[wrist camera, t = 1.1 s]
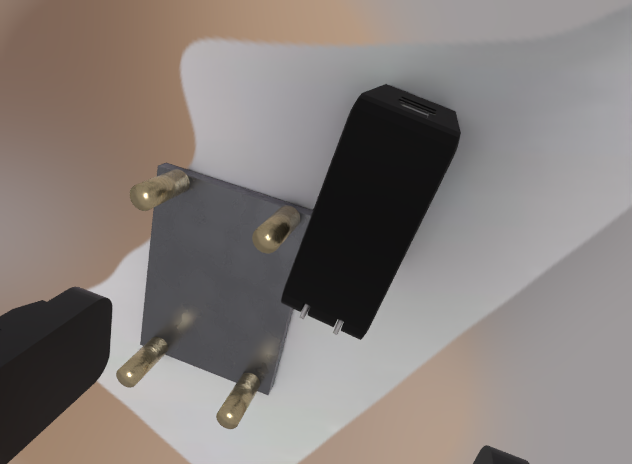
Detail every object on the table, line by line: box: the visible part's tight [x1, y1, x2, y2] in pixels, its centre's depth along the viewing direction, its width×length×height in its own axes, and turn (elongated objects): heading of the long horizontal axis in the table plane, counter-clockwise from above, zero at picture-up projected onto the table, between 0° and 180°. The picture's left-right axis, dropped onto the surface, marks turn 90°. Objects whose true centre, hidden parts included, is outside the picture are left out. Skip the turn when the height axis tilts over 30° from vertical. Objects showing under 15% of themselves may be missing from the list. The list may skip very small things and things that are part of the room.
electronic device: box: [281, 84, 461, 340], centre depth 23 cm, size 4×10×10 cm, turn 160°
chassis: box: [116, 163, 313, 429], centre depth 31 cm, size 15×11×5 cm
